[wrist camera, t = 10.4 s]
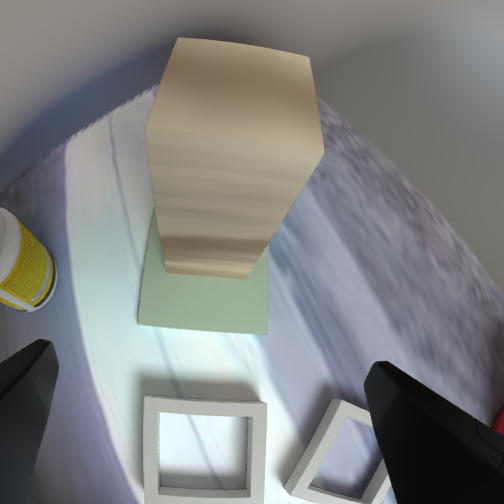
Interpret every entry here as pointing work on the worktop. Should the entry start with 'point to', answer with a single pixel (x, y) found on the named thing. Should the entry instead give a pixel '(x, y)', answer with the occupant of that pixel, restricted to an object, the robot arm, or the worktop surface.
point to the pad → (202, 296)
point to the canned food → (499, 422)
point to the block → (229, 152)
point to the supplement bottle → (24, 267)
